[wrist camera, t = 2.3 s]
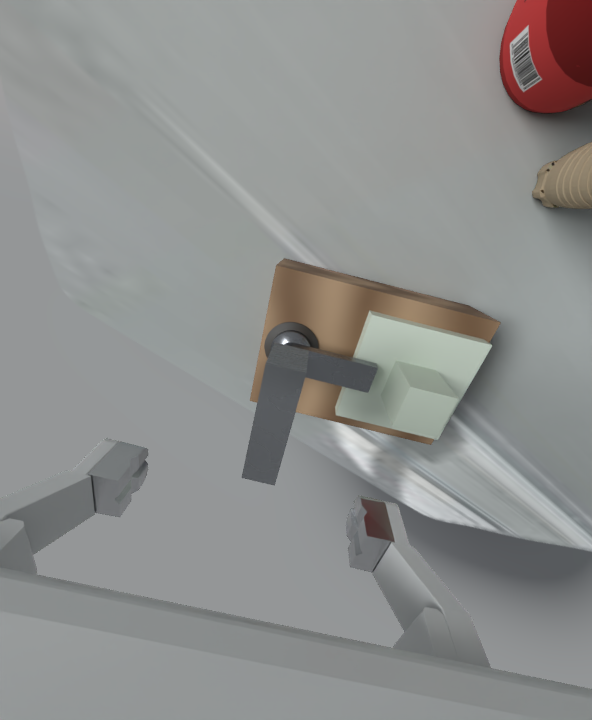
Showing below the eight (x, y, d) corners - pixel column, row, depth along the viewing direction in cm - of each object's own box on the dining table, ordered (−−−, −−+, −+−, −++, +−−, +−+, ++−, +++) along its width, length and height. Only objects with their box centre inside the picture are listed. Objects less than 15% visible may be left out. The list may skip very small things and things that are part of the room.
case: (469, 305, 26) (502, 323, 21) (414, 412, 31) (431, 446, 26) (284, 258, 25) (275, 265, 20) (260, 374, 30) (249, 401, 26)
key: (384, 328, 22) (431, 404, 12) (355, 403, 25) (375, 509, 15) (280, 302, 22) (249, 359, 12) (264, 380, 25) (228, 474, 15)
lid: (483, 339, 22) (528, 370, 17) (432, 430, 26) (457, 476, 21) (369, 310, 21) (382, 333, 17) (335, 407, 25) (338, 448, 21)
